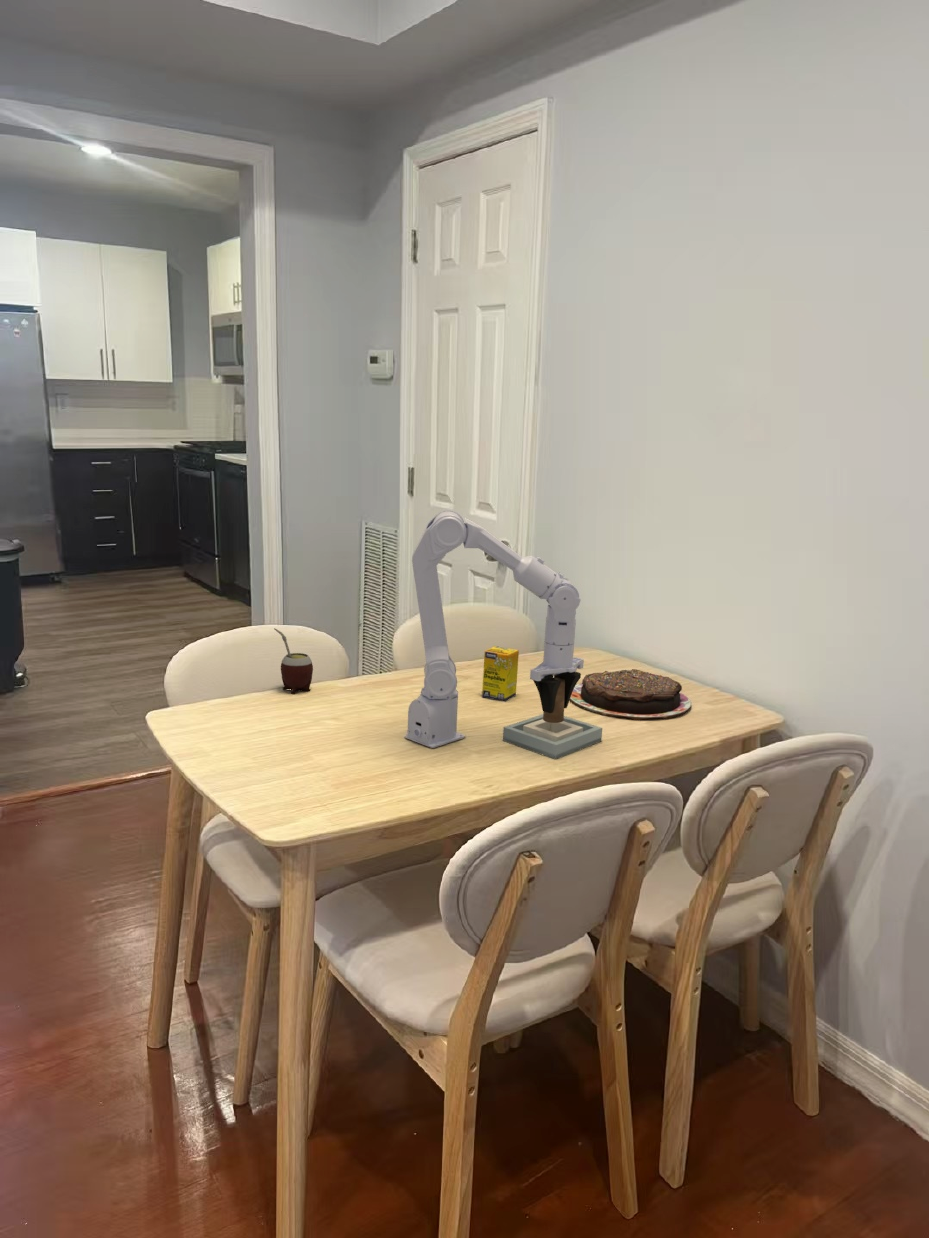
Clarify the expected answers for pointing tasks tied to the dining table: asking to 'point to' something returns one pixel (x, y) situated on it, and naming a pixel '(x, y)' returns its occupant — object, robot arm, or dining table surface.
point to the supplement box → (500, 673)
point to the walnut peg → (557, 705)
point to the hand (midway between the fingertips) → (554, 709)
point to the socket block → (545, 728)
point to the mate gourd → (296, 670)
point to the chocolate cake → (630, 695)
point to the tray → (548, 747)
